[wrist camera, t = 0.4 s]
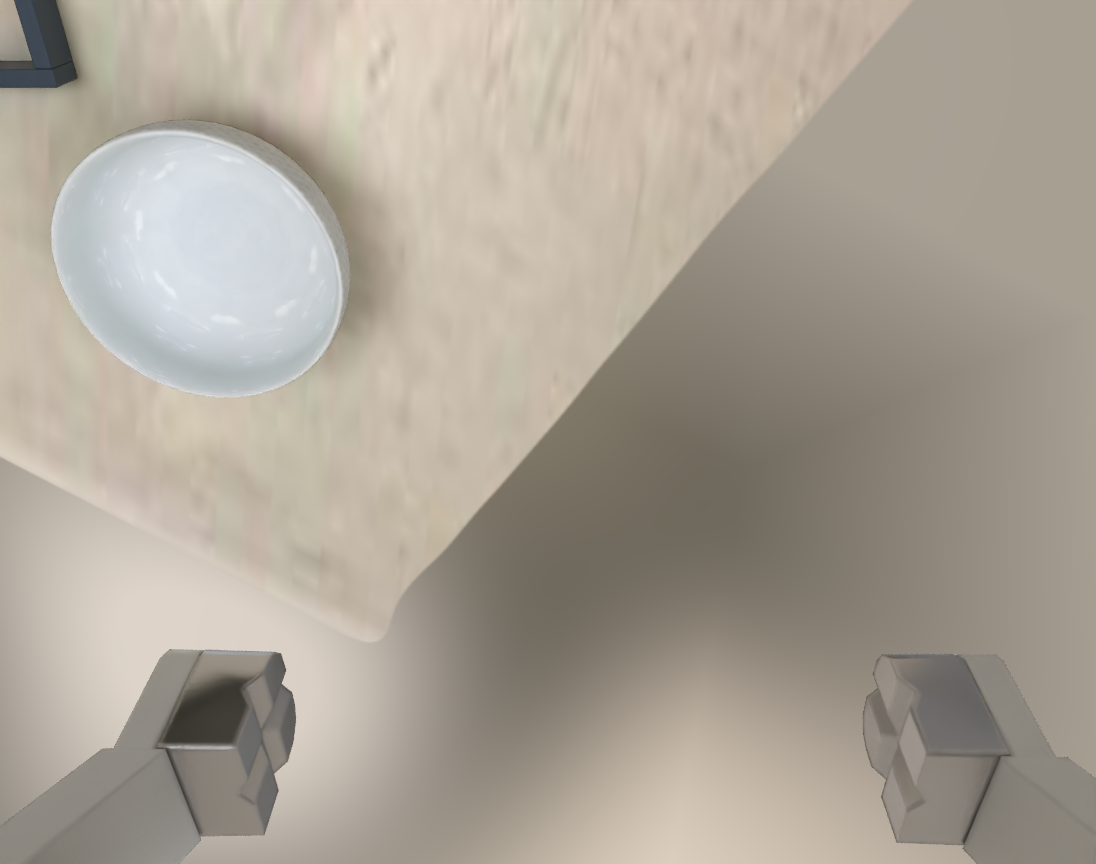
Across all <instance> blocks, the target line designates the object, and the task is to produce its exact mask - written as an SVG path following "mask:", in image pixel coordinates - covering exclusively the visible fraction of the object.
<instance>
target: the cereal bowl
mask: <svg viewBox="0 0 1096 864" xmlns="http://www.w3.org/2000/svg"><path fill="white" fill-rule="evenodd" d="M51 247H52V254H53V259H54V263H55V267H56V271H57V274H58V277H59V280H60V282H61V285H62V287H63V290H64V292H65V294H66V296H67V298H68V300H69V302H70V304H71V305H72V307H73V309H74V311H75V312H76V314H77V315H78V317H79V318H80V320H81V321H82V322H83V324H84V325H85V327H86V328H87V329H88V330H89V331H90V333H91V334H92V335H93V336H94V337H95V338H96V339H97V340H98V341H99V342H100V343H101V344H102V345H103V346H104V347H105V348H106V349H107V350H108V351H109V352H111V353H112V354H113V355H114V356H115V357H117V358H118V359H119V360H121V361H122V362H123V363H125V364H126V365H128V366H129V367H131V368H132V369H134V370H135V371H137V372H138V373H140V374H142V375H144V376H146V377H148V378H150V379H152V380H154V381H156V382H158V383H160V384H163V385H165V386H168V387H170V388H173V389H176V390H180V391H183V392H187V393H190V394H195V395H201V396H208V397H224V398H229V397H245V396H252V395H257V394H262V393H266V392H269V391H272V390H275V389H277V388H280V387H282V386H284V385H286V384H288V383H290V382H292V381H294V380H295V379H297V378H298V377H300V376H301V375H302V374H304V373H305V372H307V371H308V370H309V369H310V368H311V367H312V366H313V365H314V364H315V363H316V362H317V361H318V360H319V359H320V358H321V356H322V355H323V354H324V352H325V351H326V350H327V349H328V347H329V345H330V343H331V342H332V341H333V339H334V337H335V335H336V333H337V331H338V329H339V326H340V323H341V321H342V319H343V316H344V312H345V310H346V306H347V300H348V296H349V286H350V264H349V255H348V250H347V245H346V240H345V238H344V234H343V229H342V228H341V225H340V223H339V221H338V219H337V215H336V213H335V212H334V211H333V209H332V207H331V205H330V204H329V201H328V199H327V198H326V197H325V196H324V194H323V193H322V191H321V190H320V189H319V187H318V185H317V184H316V183H315V182H314V181H313V179H312V178H311V177H310V176H309V175H308V174H307V173H306V172H305V171H304V170H303V169H302V168H301V167H300V166H299V165H297V164H296V162H295V161H293V160H292V159H290V158H289V157H288V156H287V155H286V154H284V153H282V152H281V151H280V150H279V149H278V148H275V147H274V146H273V145H272V144H269V143H267V142H265V141H264V140H263V139H260V138H258V137H256V136H254V135H251V134H250V133H248V132H244V131H242V130H239V129H237V128H233V127H232V126H226V125H222V124H220V123H214V122H205V121H201V120H198V121H197V120H169V121H164V122H157V123H152V124H148V125H144V126H140V127H138V128H135V129H132V130H129V131H127V132H125V133H123V134H120V135H118V136H116V137H115V138H112V139H110V140H108V141H107V142H105V143H104V144H102V145H100V146H98V147H97V148H96V149H95V150H94V151H92V152H91V153H90V154H89V155H87V156H86V157H85V158H84V159H83V160H82V161H81V162H80V163H79V164H78V165H77V166H76V167H75V169H74V170H73V171H72V172H71V174H70V175H69V176H68V178H67V179H66V181H65V183H64V184H63V186H62V188H61V190H60V192H59V194H58V197H57V200H56V203H55V206H54V210H53V215H52V221H51Z"/></svg>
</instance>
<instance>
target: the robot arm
mask: <svg viewBox="0 0 1096 864" xmlns="http://www.w3.org/2000/svg"><path fill="white" fill-rule="evenodd" d="M285 672H286V668H285V665H284V662H283V659H282V655H281V653H277V652H259V651H257V652H256V651H227V650H226V651H225V650H173V649H170V650H169V651H167V652H166V653H165V654H164V655H163V656H162V657H161V658H160V659H159V661H158V663H157V665H156V667H155V669H154V671H153V672H152V674H151V676H150V678H149V680H148V682H147V684H146V686H145V688H144V690H143V692H142V694H141V696H140V698H139V700H138V701H137V703H136V705H135V707H134V709H133V711H132V713H131V715H130V717H129V719H128V721H127V723H126V725H125V727H124V729H123V730H122V733H121V734H120V736H119V738H118V740H117V742H116V744H115V746H114V748H113V749H112V748H108V749H101V750H100V751H99V752H97V753H96V754H95V755H93V756H92V757H91V758H89V759H88V760H87V761H85V762H84V763H83V764H81V765H80V766H79V767H77V768H76V769H75V770H74V771H72V772H71V773H70V774H68V775H67V776H65V777H64V778H63V779H61V780H60V781H59V782H57V783H56V784H55V785H54V786H52V787H51V788H50V789H48V790H47V791H46V792H44V793H43V794H42V795H40V796H39V797H38V798H36V799H35V800H34V801H32V802H31V803H30V804H28V805H27V806H26V807H24V808H23V809H22V810H20V811H19V812H18V813H16V814H15V815H14V816H12V817H11V818H10V819H9V820H8V821H6V822H5V823H3V824H2V825H1V826H0V864H180V862H181V861H182V860H183V859H184V858H185V857H186V856H187V855H188V854H189V853H190V852H191V851H192V849H193V848H194V847H195V846H196V845H197V844H198V843H199V842H200V841H201V838H200V836H251V835H264V834H265V832H266V828H267V825H268V822H269V819H270V816H271V813H272V809H273V806H274V803H275V800H276V797H277V794H278V787H277V783H276V780H275V776H274V773H275V772H276V771H277V770H279V769H280V768H281V767H282V766H283V765H284V764H285V763H286V762H287V761H288V759H289V755H290V752H291V748H292V745H293V740H294V732H295V724H296V714H295V704H294V699H293V695H292V692H291V691H290V690H288V689H287V688H286V687H285V686H283V685H282V681H283V678H284V675H285ZM873 676H874V678H875V681H876V684H877V687H878V688H877V689H876V690H874V691H873V692H872V693H871V694H869V695H868V696H867V698H866V702H865V707H864V711H863V735H864V741H865V746H866V751H867V754H868V757H869V760H870V763H871V766H872V768H874V769H875V770H876V771H877V772H878V773H879V774H880V775H881V776H883V777H884V778H885V779H886V782H885V786H884V789H883V792H882V796H881V797H882V800H883V803H884V806H885V809H886V812H887V815H888V818H889V821H890V824H891V827H892V830H893V833H894V836H895V839H896V842H897V843H918V844H944V845H964V846H963V849H964V851H965V852H966V853H967V854H968V855H969V856H970V857H971V858H972V859H973V860H974V861H975V862H976V863H977V864H1096V778H1095V777H1094V776H1092V775H1091V774H1089V773H1088V772H1087V771H1086V770H1084V769H1083V768H1081V767H1080V766H1079V765H1077V764H1076V763H1075V762H1073V761H1072V760H1071V759H1069V758H1068V757H1056V756H1055V754H1054V752H1053V751H1052V749H1051V747H1050V745H1049V743H1048V741H1047V739H1046V738H1045V736H1044V734H1043V732H1042V731H1041V729H1040V727H1039V725H1038V723H1037V721H1036V719H1035V717H1034V716H1033V714H1032V712H1031V710H1030V708H1029V706H1028V705H1027V703H1026V701H1025V699H1024V698H1023V695H1022V694H1021V692H1020V690H1019V688H1018V686H1017V684H1016V683H1015V681H1014V679H1013V677H1012V676H1011V673H1010V672H1009V670H1008V668H1007V666H1006V664H1005V662H1004V661H1003V660H1002V659H1001V658H1000V657H999V656H997V655H996V654H992V655H991V654H986V655H985V654H975V655H974V654H958V655H954V654H891V655H889V654H888V655H886V654H885V655H884V654H883V655H881V656H880V657H879V659H878V660H877V662H876V665H875V668H874V672H873Z"/></svg>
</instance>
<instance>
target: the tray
mask: <svg viewBox="0 0 1096 864" xmlns="http://www.w3.org/2000/svg"><path fill="white" fill-rule="evenodd" d="M14 1H15V5H16V8H17V11H18V15H19V18H20V21H21V24H22V28H23V31H24V34H25V38H26V41H27V44H28V48H29V51H30V54H31V57H32V61H0V88H57V87H59V86H62V85H64V84H66V83H68V82H71V81H73V80H75V79H77V75H76V71H75V68H74V64H73V61H72V57H71V54H70V50H69V47H68V43H67V39H66V36H65V32H64V29H63V25H62V22H61V18H60V14H59V11H58V7H57V4H56V0H14Z"/></svg>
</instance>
